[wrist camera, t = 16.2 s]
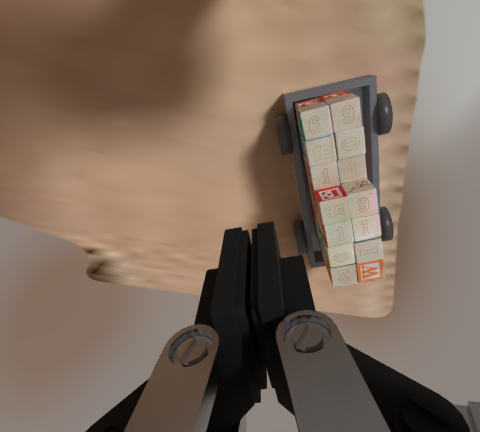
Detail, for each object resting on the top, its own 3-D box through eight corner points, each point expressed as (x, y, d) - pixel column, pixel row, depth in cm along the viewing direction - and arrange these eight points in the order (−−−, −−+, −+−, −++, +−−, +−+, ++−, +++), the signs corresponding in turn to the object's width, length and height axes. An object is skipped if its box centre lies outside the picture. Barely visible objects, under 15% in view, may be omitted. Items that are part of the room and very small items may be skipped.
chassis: (271, 95, 41) (273, 100, 37) (376, 71, 39) (392, 73, 35) (298, 254, 52) (302, 273, 48) (381, 241, 50) (393, 259, 46)
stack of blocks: (290, 100, 40) (303, 116, 29) (339, 87, 39) (372, 98, 28) (316, 238, 50) (333, 289, 39) (356, 230, 49) (385, 280, 38)
